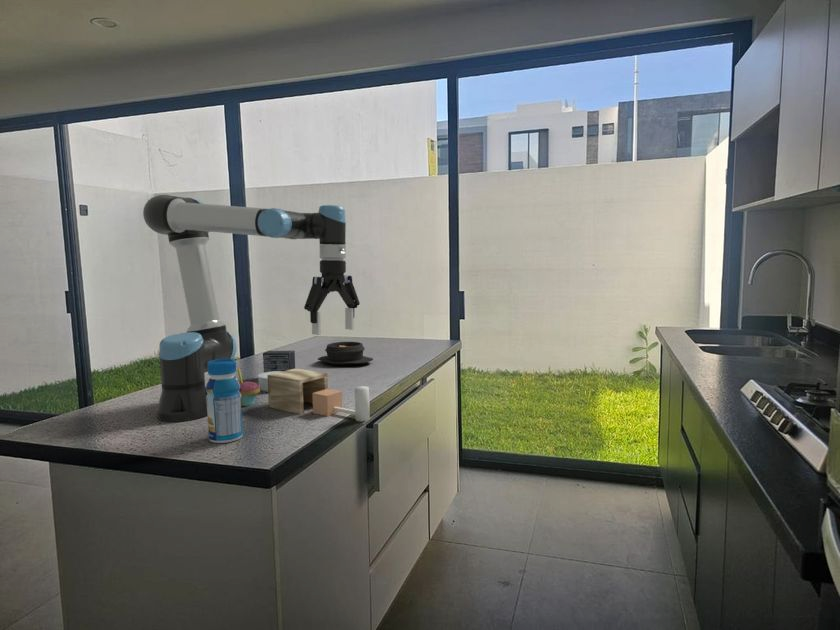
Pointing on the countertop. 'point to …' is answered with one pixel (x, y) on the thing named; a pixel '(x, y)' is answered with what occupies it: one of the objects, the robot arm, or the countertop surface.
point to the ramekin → (265, 380)
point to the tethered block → (332, 403)
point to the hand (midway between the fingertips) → (333, 331)
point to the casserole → (345, 353)
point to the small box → (278, 360)
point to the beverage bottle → (223, 402)
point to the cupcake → (248, 391)
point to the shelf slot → (294, 388)
